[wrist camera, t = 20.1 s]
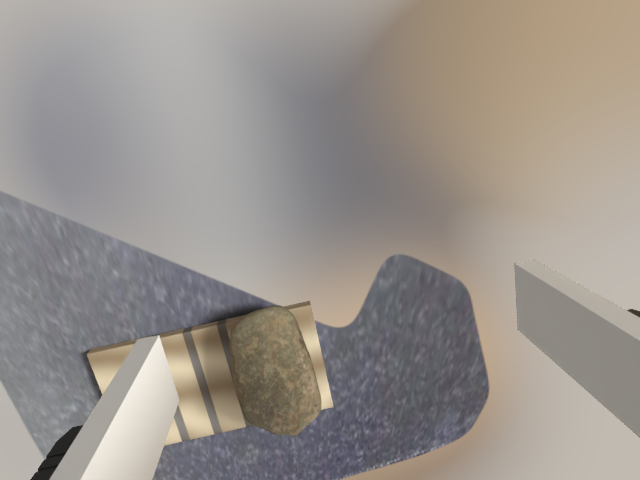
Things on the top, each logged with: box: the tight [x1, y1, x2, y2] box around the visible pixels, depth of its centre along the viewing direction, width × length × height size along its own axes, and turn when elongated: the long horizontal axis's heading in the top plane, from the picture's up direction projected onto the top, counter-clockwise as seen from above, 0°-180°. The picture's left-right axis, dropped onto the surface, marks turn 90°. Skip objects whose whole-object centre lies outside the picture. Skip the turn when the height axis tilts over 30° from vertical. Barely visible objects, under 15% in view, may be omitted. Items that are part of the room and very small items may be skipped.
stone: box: [229, 306, 322, 436], centre depth 49 cm, size 9×14×10 cm, turn 11°
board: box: [87, 301, 333, 445], centre depth 52 cm, size 14×26×1 cm, turn 101°
